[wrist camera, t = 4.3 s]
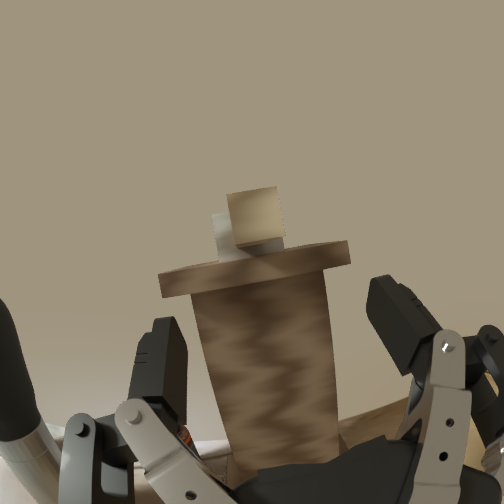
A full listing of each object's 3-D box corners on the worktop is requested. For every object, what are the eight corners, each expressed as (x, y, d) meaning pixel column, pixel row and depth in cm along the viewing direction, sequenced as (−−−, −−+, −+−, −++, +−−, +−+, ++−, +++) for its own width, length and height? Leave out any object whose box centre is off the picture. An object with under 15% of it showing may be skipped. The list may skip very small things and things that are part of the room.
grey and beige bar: (200, 272, 13) (186, 181, 12) (224, 260, 32) (217, 222, 31) (325, 250, 13) (307, 162, 13) (274, 250, 32) (268, 213, 32)
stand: (228, 513, 22) (146, 276, 21) (229, 460, 34) (178, 267, 33) (364, 485, 22) (357, 238, 22) (338, 438, 34) (318, 242, 34)
